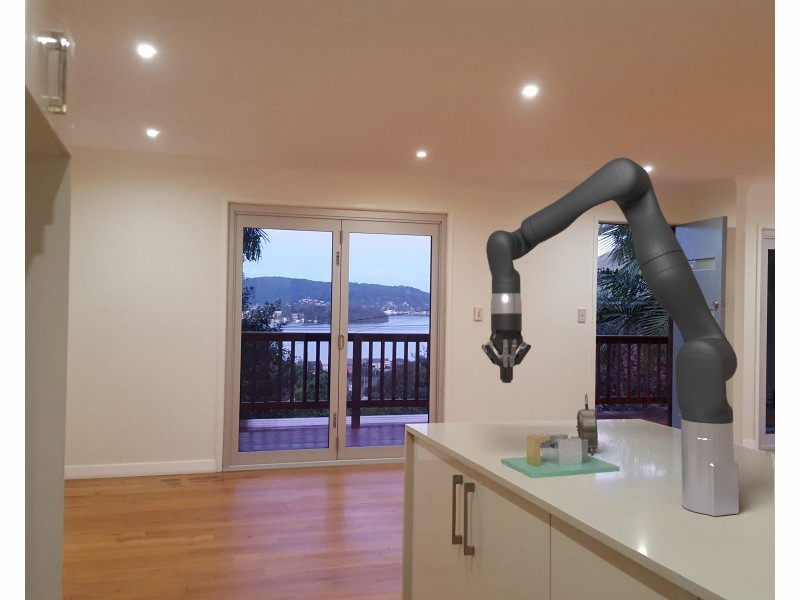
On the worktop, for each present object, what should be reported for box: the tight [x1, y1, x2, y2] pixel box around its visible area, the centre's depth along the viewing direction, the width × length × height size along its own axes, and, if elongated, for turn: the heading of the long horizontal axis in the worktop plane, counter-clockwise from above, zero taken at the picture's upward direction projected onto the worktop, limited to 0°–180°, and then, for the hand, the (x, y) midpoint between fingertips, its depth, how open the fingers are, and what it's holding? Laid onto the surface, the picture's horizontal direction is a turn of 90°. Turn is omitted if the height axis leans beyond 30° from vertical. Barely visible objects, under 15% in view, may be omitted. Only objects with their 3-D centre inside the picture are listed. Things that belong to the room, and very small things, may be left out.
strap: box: [541, 441, 555, 449], centre depth 156 cm, size 3×12×1 cm, turn 107°
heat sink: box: [541, 433, 589, 467], centre depth 157 cm, size 8×10×6 cm
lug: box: [526, 433, 550, 466], centre depth 154 cm, size 4×5×7 cm
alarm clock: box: [575, 393, 599, 456], centre depth 174 cm, size 11×5×16 cm, turn 168°
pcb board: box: [500, 455, 621, 479], centre depth 156 cm, size 16×24×1 cm, turn 108°
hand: (506, 382), depth 152 cm, fingers closed
